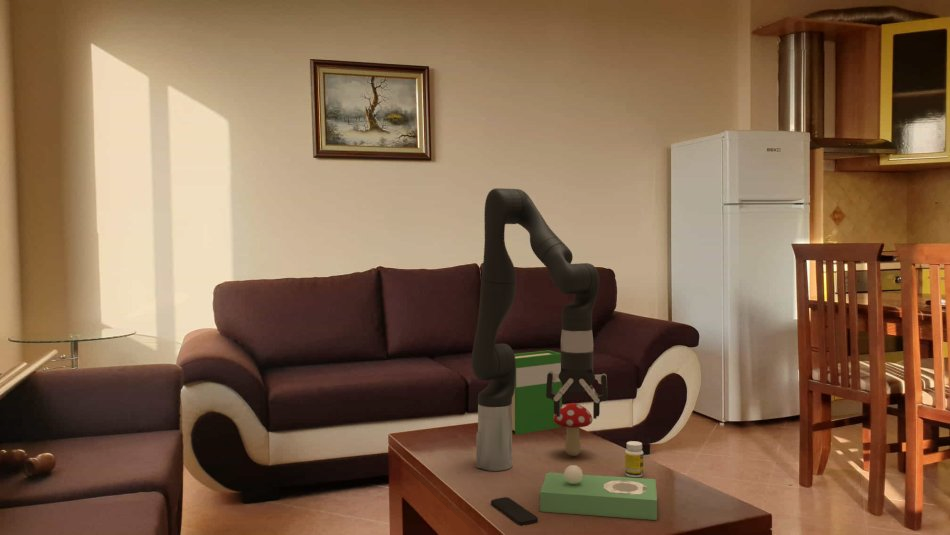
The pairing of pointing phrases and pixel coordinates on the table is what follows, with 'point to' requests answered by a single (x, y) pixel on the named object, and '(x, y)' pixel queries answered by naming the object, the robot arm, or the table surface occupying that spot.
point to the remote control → (514, 511)
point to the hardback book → (534, 391)
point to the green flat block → (600, 496)
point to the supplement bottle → (634, 459)
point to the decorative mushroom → (573, 425)
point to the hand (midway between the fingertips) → (576, 417)
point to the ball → (573, 474)
